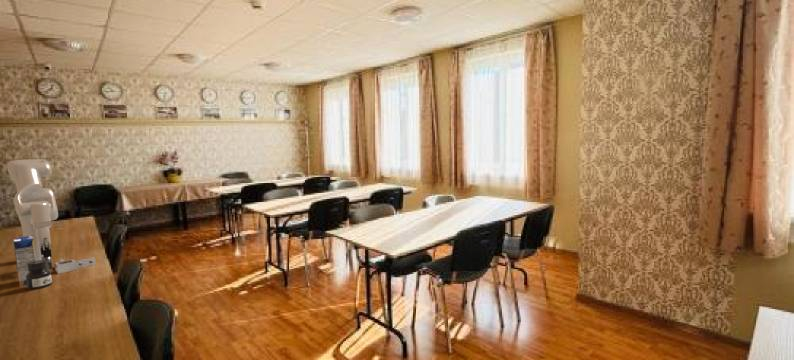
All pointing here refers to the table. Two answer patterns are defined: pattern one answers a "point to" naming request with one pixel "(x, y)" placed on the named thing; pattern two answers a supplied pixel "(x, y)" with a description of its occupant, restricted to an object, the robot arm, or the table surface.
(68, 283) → the table surface
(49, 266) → the grey upright cylinder
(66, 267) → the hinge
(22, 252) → the beverage box
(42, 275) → the ink bottle
